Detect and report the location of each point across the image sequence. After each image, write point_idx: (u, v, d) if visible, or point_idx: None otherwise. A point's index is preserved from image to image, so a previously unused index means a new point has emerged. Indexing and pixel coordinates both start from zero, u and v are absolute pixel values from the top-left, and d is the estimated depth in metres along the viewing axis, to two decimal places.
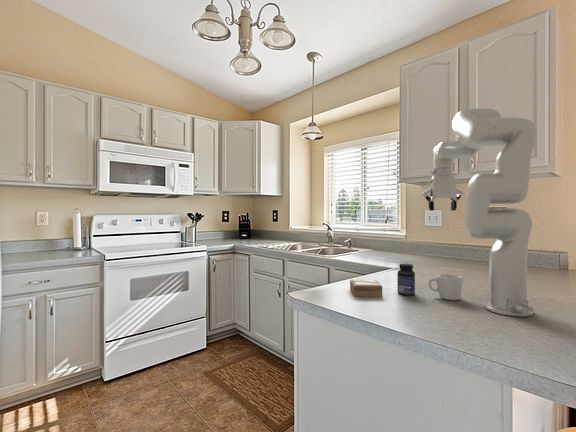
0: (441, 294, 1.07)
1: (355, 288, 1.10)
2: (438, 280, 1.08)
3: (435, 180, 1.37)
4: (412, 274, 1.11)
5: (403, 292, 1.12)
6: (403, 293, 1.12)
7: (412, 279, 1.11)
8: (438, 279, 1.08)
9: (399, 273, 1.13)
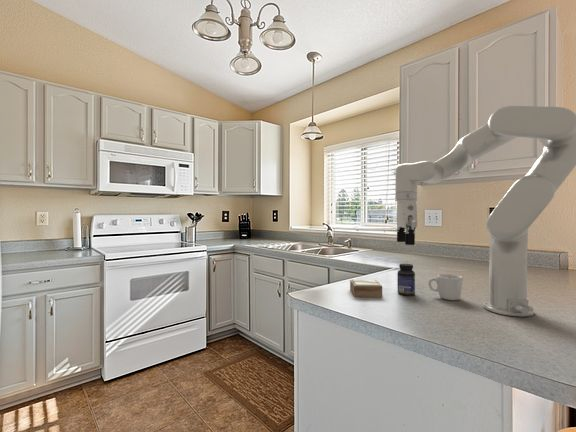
0: (441, 294, 1.07)
1: (355, 288, 1.10)
2: (438, 280, 1.08)
3: None
4: (412, 274, 1.11)
5: (403, 292, 1.12)
6: (403, 293, 1.12)
7: (412, 279, 1.11)
8: (438, 279, 1.08)
9: (399, 273, 1.13)
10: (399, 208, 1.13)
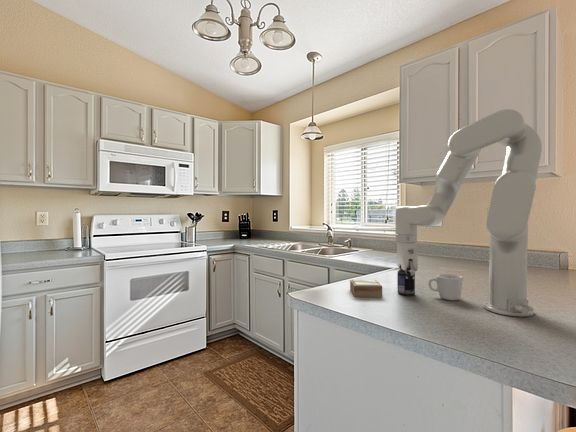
0: (441, 294, 1.07)
1: (355, 288, 1.10)
2: (438, 280, 1.08)
3: (416, 250, 1.09)
4: None
5: (403, 292, 1.12)
6: (403, 293, 1.12)
7: None
8: (438, 279, 1.08)
9: (399, 273, 1.13)
10: (399, 250, 1.13)
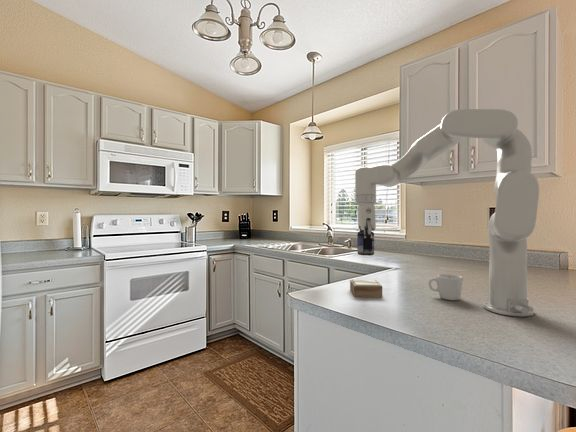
0: (441, 294, 1.07)
1: (355, 288, 1.10)
2: (438, 280, 1.08)
3: (374, 209, 1.10)
4: None
5: (362, 252, 1.12)
6: (362, 253, 1.12)
7: None
8: (438, 279, 1.08)
9: (358, 233, 1.14)
10: (359, 211, 1.14)
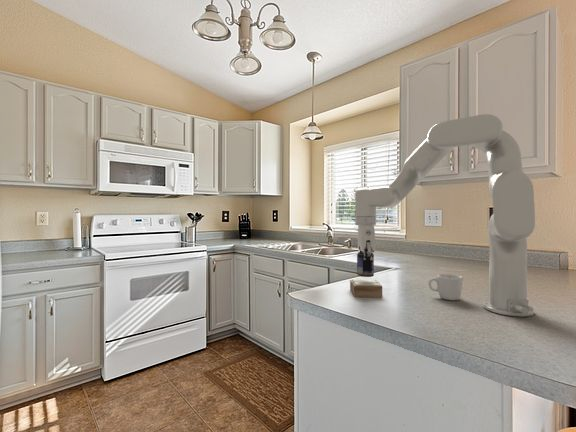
0: (441, 294, 1.07)
1: (355, 288, 1.10)
2: (438, 280, 1.08)
3: (374, 231, 1.10)
4: None
5: (362, 273, 1.12)
6: (361, 274, 1.12)
7: None
8: (438, 279, 1.08)
9: (358, 255, 1.14)
10: (359, 232, 1.14)
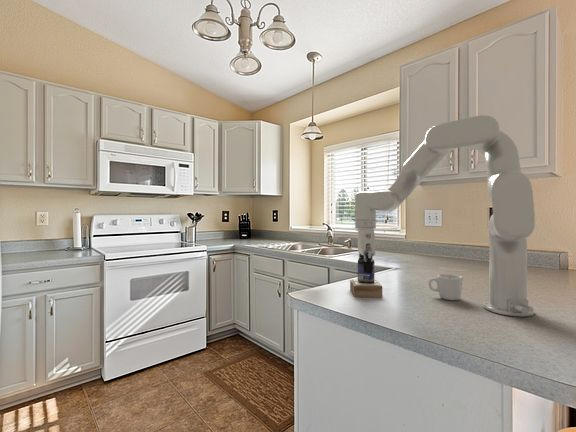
0: (441, 294, 1.07)
1: (355, 288, 1.10)
2: (438, 280, 1.08)
3: (374, 235, 1.10)
4: None
5: (362, 280, 1.12)
6: (362, 281, 1.12)
7: None
8: (438, 279, 1.08)
9: (359, 261, 1.14)
10: (359, 235, 1.14)
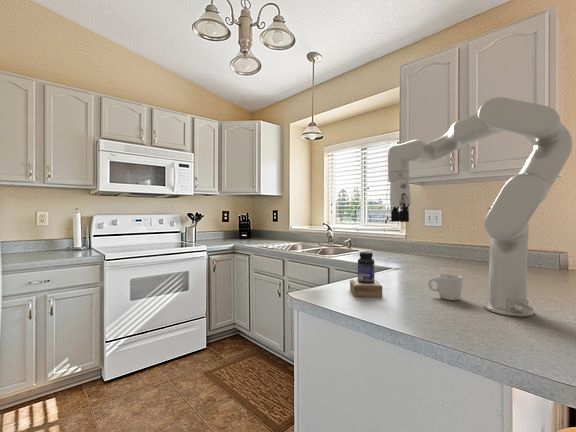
0: (441, 294, 1.07)
1: (355, 288, 1.10)
2: (438, 280, 1.08)
3: None
4: (371, 262, 1.12)
5: (362, 280, 1.12)
6: (362, 281, 1.12)
7: (371, 267, 1.12)
8: (438, 279, 1.08)
9: (359, 261, 1.14)
10: (392, 188, 1.17)
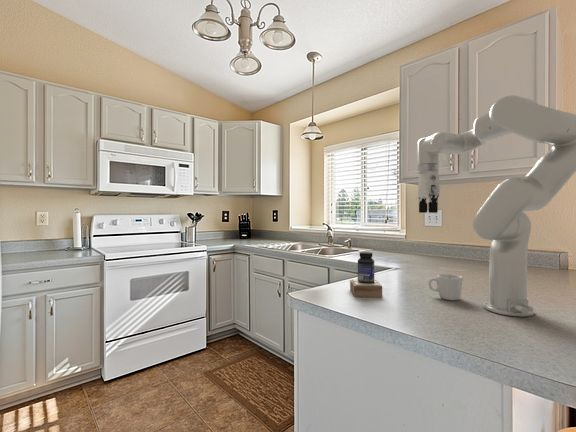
0: (441, 294, 1.07)
1: (355, 288, 1.10)
2: (438, 280, 1.08)
3: (438, 177, 1.16)
4: (371, 262, 1.12)
5: (362, 280, 1.12)
6: (362, 281, 1.12)
7: (371, 267, 1.12)
8: (438, 279, 1.08)
9: (359, 261, 1.14)
10: (422, 179, 1.20)
